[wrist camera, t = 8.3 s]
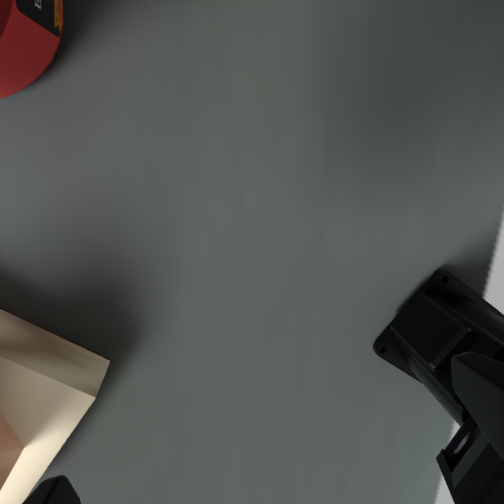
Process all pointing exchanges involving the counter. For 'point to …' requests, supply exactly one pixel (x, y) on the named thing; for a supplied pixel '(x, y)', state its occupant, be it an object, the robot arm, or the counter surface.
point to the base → (42, 396)
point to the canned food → (27, 41)
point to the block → (8, 450)
